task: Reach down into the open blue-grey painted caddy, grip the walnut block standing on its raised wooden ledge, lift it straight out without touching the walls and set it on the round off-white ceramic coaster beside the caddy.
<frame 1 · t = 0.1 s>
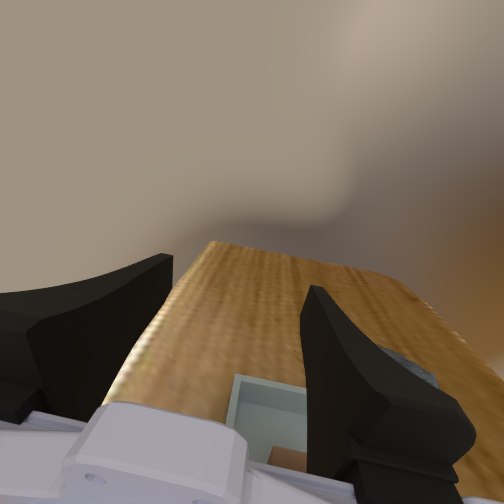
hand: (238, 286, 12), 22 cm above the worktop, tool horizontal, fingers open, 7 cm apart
rock: (376, 394, 34), on the worktop
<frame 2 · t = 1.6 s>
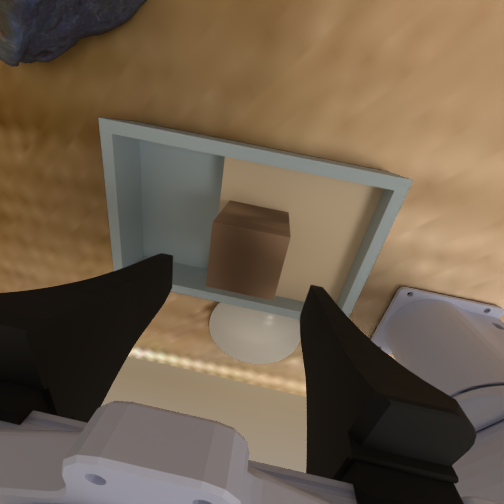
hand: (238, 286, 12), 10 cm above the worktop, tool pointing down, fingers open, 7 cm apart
coaster: (254, 327, 27), on the worktop
block: (253, 233, 19), point 2 cm above the worktop, touching caddy
caddy: (245, 221, 21), on the worktop
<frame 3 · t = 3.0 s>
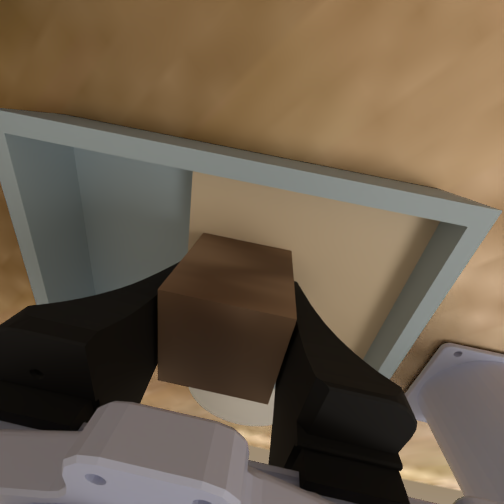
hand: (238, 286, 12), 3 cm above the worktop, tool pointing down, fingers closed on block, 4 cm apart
coaster: (246, 383, 21), on the worktop
block: (240, 278, 13), point 2 cm above the worktop, touching caddy, gripper
caddy: (231, 254, 15), on the worktop
when the fingers open (3 cm above the worktop, at t = 6.5 s): block drops 1 cm, resting on coaster.
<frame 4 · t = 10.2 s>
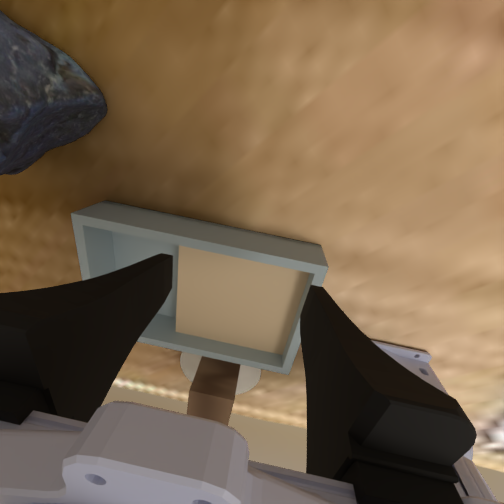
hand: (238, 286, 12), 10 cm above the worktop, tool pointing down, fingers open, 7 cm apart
coaster: (221, 364, 30), on the worktop
block: (220, 366, 29), point 1 cm above the worktop, touching coaster
rock: (27, 89, 19), on the worktop
caddy: (205, 279, 25), on the worktop
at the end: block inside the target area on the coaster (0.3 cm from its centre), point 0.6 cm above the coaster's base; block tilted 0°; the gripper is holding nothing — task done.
